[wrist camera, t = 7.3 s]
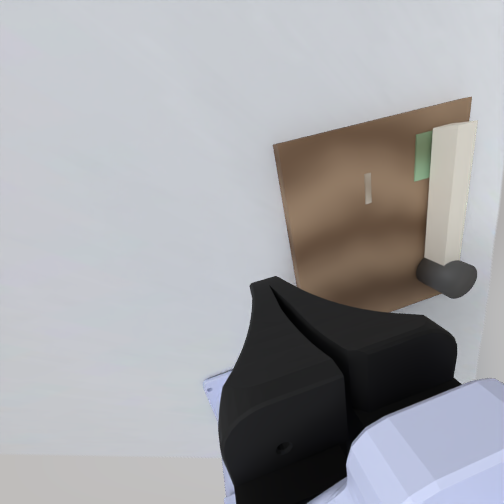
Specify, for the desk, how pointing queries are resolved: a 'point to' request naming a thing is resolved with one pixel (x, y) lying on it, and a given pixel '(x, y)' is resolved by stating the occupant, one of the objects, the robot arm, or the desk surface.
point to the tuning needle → (448, 210)
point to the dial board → (363, 207)
